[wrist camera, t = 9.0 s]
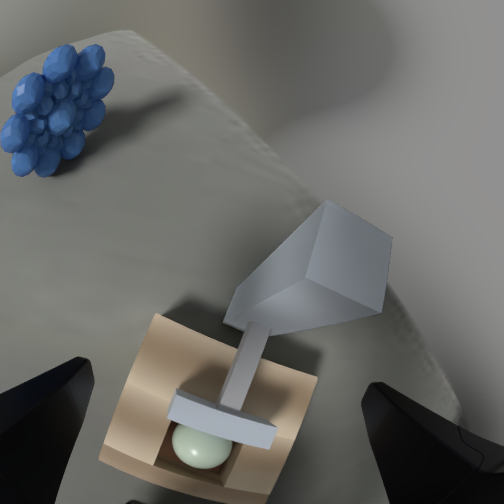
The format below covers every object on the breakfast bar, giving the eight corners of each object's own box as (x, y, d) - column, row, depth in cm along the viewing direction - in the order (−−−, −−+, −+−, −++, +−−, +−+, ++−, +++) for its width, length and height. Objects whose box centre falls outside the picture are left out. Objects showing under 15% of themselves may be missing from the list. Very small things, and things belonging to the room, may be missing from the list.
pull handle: (244, 426, 18) (347, 510, 5) (168, 399, 17) (163, 487, 5) (287, 309, 22) (417, 254, 10) (218, 279, 21) (288, 177, 9)
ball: (247, 423, 15) (228, 427, 18) (187, 403, 15) (178, 409, 17) (231, 478, 12) (214, 472, 15) (168, 459, 12) (162, 455, 15)
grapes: (98, 106, 24) (89, 15, 13) (131, 134, 24) (128, 30, 13) (14, 170, 19) (-30, 86, 8) (38, 209, 19) (-20, 118, 8)
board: (251, 492, 16) (262, 508, 13) (107, 446, 15) (98, 459, 12) (300, 374, 21) (318, 377, 18) (158, 317, 19) (155, 312, 17)
